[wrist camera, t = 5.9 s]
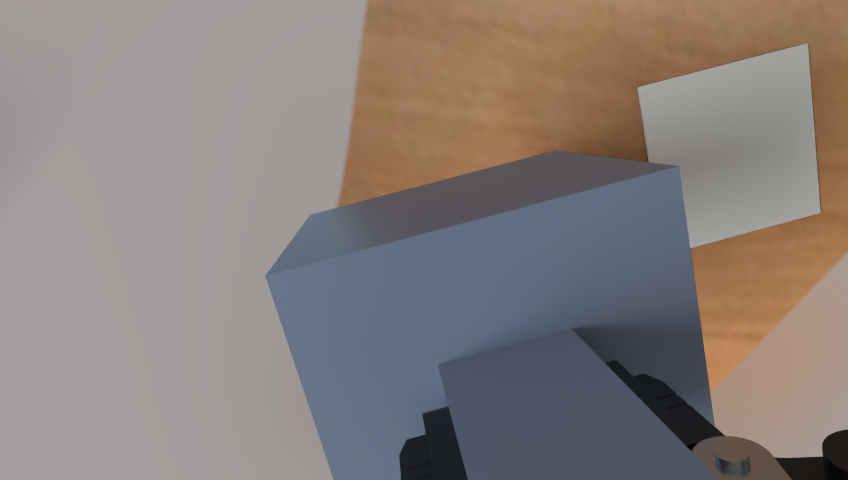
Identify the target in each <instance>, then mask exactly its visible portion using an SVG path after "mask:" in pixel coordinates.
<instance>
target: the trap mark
mask: <svg viewBox="0 0 848 480" xmlns="http://www.w3.org/2000/svg"><path fill="white" fill-rule="evenodd" d="M637 89H638V96H639V102H640V109H641V116H642V123H643V129H644V136H645V143H646V149H647V156H648V162H652V163H660V164H668V165H676V166H679V169H680V177H681V184H682V191H683V199H684V206H685V213H686V221H687V228H688V235H689V242H690V248H693V247H697V246H700V245H704V244H708V243H711V242H715V241H719V240H723V239H726V238H730V237H734V236H737V235H741V234H745V233H748V232H752V231H756V230H759V229H763V228H767V227H770V226H774V225H778V224H781V223H785V222H789V221H793V220H796V219H800V218H804V217H807V216H811V215H815V214H818V213H821V212H820V199H819V185H818V172H817V159H816V145H815V132H814V119H813V105H812V92H811V79H810V65H809V52H808V43H806V44H802V45H798V46H794V47H790V48H787V49H783V50H779V51H775V52H771V53H767V54H763V55H760V56H756V57H752V58H748V59H744V60H740V61H736V62H733V63H729V64H725V65H721V66H717V67H713V68H709V69H706V70H702V71H698V72H694V73H690V74H686V75H682V76H679V77H675V78H671V79H667V80H663V81H659V82H655V83H652V84H648V85H644V86H640V87H637Z"/></svg>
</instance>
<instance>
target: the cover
mask: <svg viewBox="0 0 848 480" xmlns="http://www.w3.org/2000/svg"><path fill="white" fill-rule="evenodd" d="M266 279H267V282H268V285H269V288H270V291H271V294H272V297H273V300H274V303H275V306H276V309H277V312H278V315H279V318H280V321H281V324H282V326H283V329H284V332H285V336H286V339H287V341H288V345H289V347H290V351H291V354H292V356H293V360H294V363H295V365H296V369H297V371H298V374H299V377H300V380H301V383H302V386H303V389H304V392H305V395H306V398H307V401H308V404H309V407H310V410H311V413H312V416H313V419H314V422H315V425H316V428H317V431H318V434H319V437H320V440H321V443H322V446H323V449H324V452H325V455H326V458H327V461H328V464H329V467H330V469H331V473H332V476H333V479H334V480H401V474H400V473H401V471H400V460H399V454H400V452H401V450H402V448H403V446H404V444H405V442H406V440H407V439H410V438H414V437H417V436H421V435H425V428H424V422H423V415H422V413H425V412H429V411H433V410H436V409H440V408H443V407H447V406H449V410H450V414H451V418H452V422H453V425H454V429H455V433H456V437H457V440H458V444H459V448H460V452H461V456H462V459H463V463H464V467H465V471H466V475H467V478H468V480H719V479H718V478H717V477H716V476H715V475H714V474H713V473H712V472H711V471H710V470H709V469H708V468H707V467H706V466H705V465H704V464H703V463H702V462H701V461H700V460H699V459H698V458H697V457H696V456H695V455H694V454H693V453H692V452H691V451H690V450H689V449H688V448H687V447H686V446H685V444H684V443H683V442H682V441H681V440H680V439H679V438H678V437H677V436H676V435H675V434H674V433H673V432H672V431H671V430H670V429H669V428H668V427H667V426H666V425H665V424H664V423H663V422H662V421H661V420H660V419H659V418H658V417H657V416H656V415H655V414H654V413H653V412H652V411H651V410H650V409H649V408H648V407H647V406H646V405H645V404H644V403H643V402H642V401H641V399H640V398H639V397H638V396H637V395H636V394H635V393H634V392H633V391H632V390H631V389H630V388H629V387H628V386H627V385H626V384H625V383H624V382H623V381H622V380H621V379H620V378H619V377H618V376H617V375H616V374H615V373H614V372H613V371H612V370H611V369H610V368H609V367H608V366H607V365H606V364H605V363H606V362H610V361H613V360H616V361H618V362H619V363H620V364H621V365H622V366H623V367H624V368H625V369H626V370H627V371H628V372H629V373H630V374H631V375H633V376H636V375H640V374H646V375H648V376H651V377H653V378H656V379H659V380H661V381H663V382H664V383H665V384H667V385H668V386H669V387H670V388H671V389H672V390H673V391H675V392H676V394H677V395H679V396H680V397H681V398H683V399H684V400H685V401H686V402H687V404H688V405H690V406H692V407H693V408H694V409H695V410H696V411H697V412H698V413H700V414H701V415H702V416H703V417H704V418H705V419H706V420H708V421H709V422H710V423H711V424H712V425H713V426H714V418H713V411H712V404H711V396H710V389H709V381H708V374H707V367H706V359H705V352H704V345H703V338H702V330H701V323H700V316H699V308H698V301H697V294H696V286H695V279H694V272H693V264H692V257H691V250H690V242H689V235H688V228H687V221H686V213H685V206H684V199H683V191H682V184H681V177H680V169H679V166H676V165H668V164H660V163H652V162H644V161H636V160H628V159H620V158H612V157H604V156H596V155H588V154H580V153H572V152H564V151H552V152H548V153H544V154H541V155H537V156H533V157H529V158H525V159H522V160H518V161H514V162H510V163H506V164H502V165H499V166H495V167H491V168H487V169H483V170H480V171H476V172H472V173H468V174H464V175H461V176H457V177H453V178H449V179H445V180H441V181H438V182H434V183H430V184H426V185H422V186H419V187H415V188H411V189H407V190H403V191H400V192H396V193H392V194H388V195H384V196H381V197H377V198H373V199H369V200H365V201H361V202H358V203H354V204H350V205H346V206H342V207H339V208H335V209H331V210H327V211H323V212H320V213H316V214H312V215H310V216H309V218H308V219H307V220H306V222H305V223H304V224H303V226H302V227H301V228H300V230H299V231H298V232H297V234H296V235H295V237H294V238H293V239H292V241H291V242H290V243H289V245H288V246H287V247H286V249H285V250H284V251H283V253H282V254H281V255H280V257H279V258H278V260H277V261H276V262H275V264H274V265H273V266H272V268H271V269H270V270H269V272H268V273H267V274H266ZM714 427H715V426H714Z"/></svg>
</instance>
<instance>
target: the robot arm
mask: <svg viewBox="0 0 848 480" xmlns="http://www.w3.org/2000/svg"><path fill="white" fill-rule="evenodd" d="M605 364H606V365H607V366H608V367H609V368H610V369H611V370H612V371H613V372H614V373H615V374H616V375H617V376H618V377H619V378H620V379H621V380H622V381H623V382H624V383H625V384H626V385H627V386H628V387H629V388H630V389H631V390H632V391H633V392H634V393H635V394H636V395H637V396H638V397H639V398H640V399H641V401H642V402H643V403H644V404H645V405H646V406H647V407H648V408H649V409H650V410H651V411H652V412H653V413H654V414H655V415H656V416H657V417H658V418H659V419H660V420H661V421H662V422H663V423H664V424H665V425H666V426H667V427H668V428H669V429H670V430H671V431H672V432H673V433H674V434H675V435H676V436H677V437H678V438H679V439H680V440H681V441H682V442H683V443H684V444H685V446H686V447H687V448H688V449H689V450H690V451H691V452H692V453H693V454H694V455H695V456H696V457H697V458H698V459H699V460H700V461H701V462H702V463H703V464H704V465H705V466H706V467H707V468H708V469H709V470H710V471H711V472H712V473H713V474H714V475H715V476H716V477H717V478H718V479H719V480H848V430H842V431H838V432H835V433H832V434H831V435H829V436H827V438H826V439H825V440H824V441H823V444H822V451H823V457H806V458H805V457H804V458H775V457H773V455H772V454H771V453H770V452H769V451H768V450H767V449H765V448H764V447H763V446H761V445H759V444H758V443H755V442H753V441H750V440H747V439H744V438H739V437H733V436H725V435H723V434H722V433H721V432H720V431H719V430H718V429H717V428H715V427H714V426H713V425H712V424H711V423H710V422H709V421H708V420H706V419H705V418H704V417H703V416H702V415H701V414H700V413H698V412H697V411H696V410H695V409H694V408H693V407H692V406H690V405H688V404H687V402H686V401H685V400H684V399H683V398H681V397H680V396H679V395H677V394H676V392H675V391H673V390H672V389H671V388H670V387H669V386H668V385H667V384H665V383H664V382H663V381H661V380H659V379H656V378H653V377H651V376H648V375H646V374H640V375H636V376H633V375H631V374H630V373H629V372H628V371H627V370H626V369H625V368H624V367H623V366H622V365H621V364H620V363H619V362H618V361H616V360H613V361H610V362H606V363H605ZM422 415H423V422H424V428H425V435H421V436H417V437H414V438H410V439H407V440H406V442H405V444H404V446H403V448H402V450H401V452H400V454H399V460H400V471H401V473H400V474H401V480H468V478H467V475H466V471H465V467H464V463H463V459H462V456H461V452H460V448H459V444H458V440H457V437H456V433H455V429H454V425H453V422H452V418H451V414H450V410H449V406H447V407H443V408H440V409H436V410H433V411H429V412H425V413H422Z"/></svg>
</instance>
